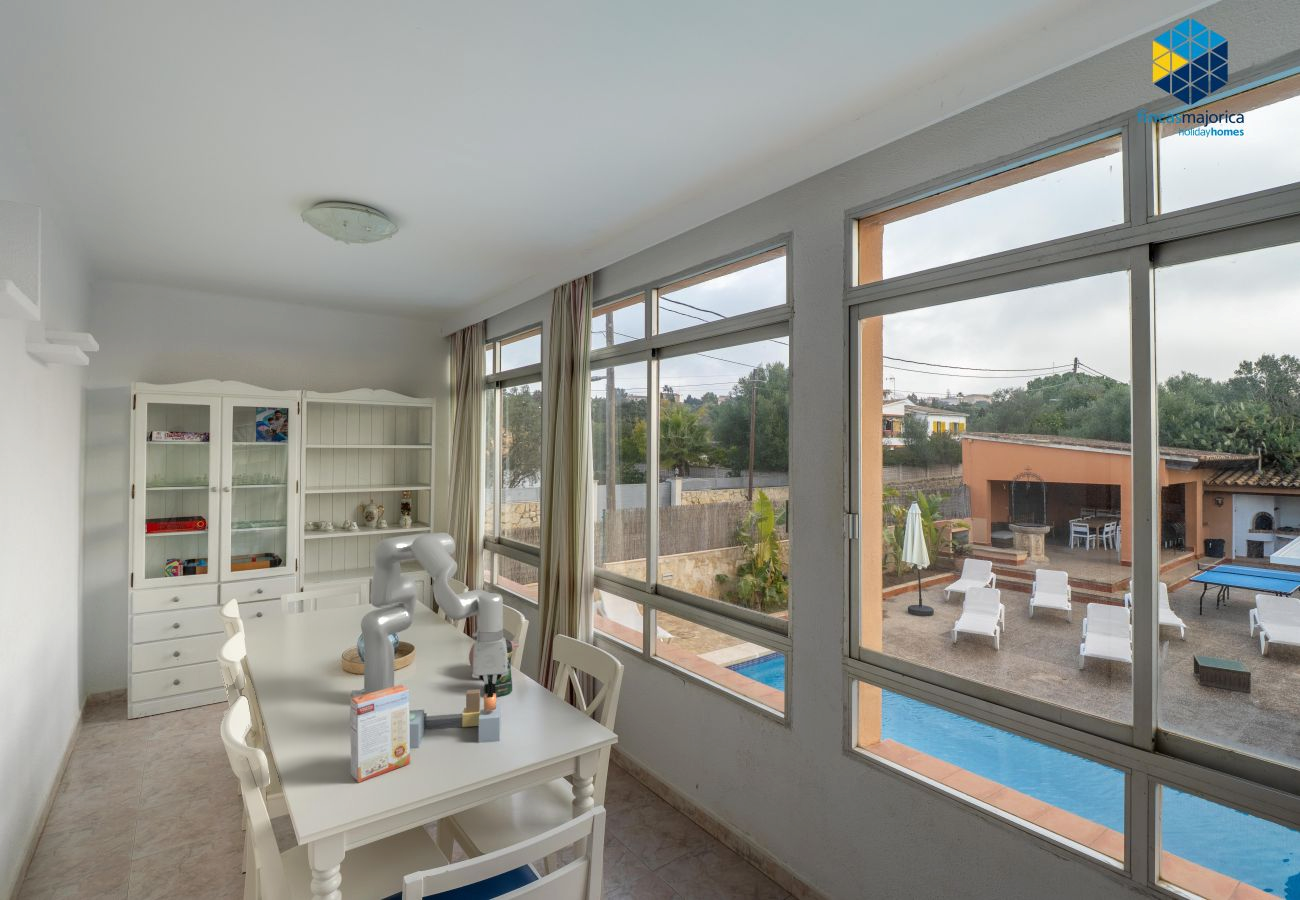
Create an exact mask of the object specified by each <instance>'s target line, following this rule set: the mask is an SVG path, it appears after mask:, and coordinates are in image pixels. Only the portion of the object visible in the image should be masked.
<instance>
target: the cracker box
mask: <svg viewBox="0 0 1300 900" xmlns="http://www.w3.org/2000/svg"><path fill="white" fill-rule="evenodd" d="M349 700H350V701H349V702H350V705H349V706H350V707H349V709H350V711H349V713H350V714H349V715H350V718H349V719H350V720H349V721H350V774H351V776H352V778H353V779H355V781H356V782H357V783H362V782H364V781H366V780H369V779H372V778H375V777H377V776H379V775H383V774H385V773H389V772H391V771H393V770H396V769H399V768H402V767H404V766H407V765H409V764H410V763H411V757H410V756H411V755H410V754H411V752H410V749H411V748H410V721H409V711H410V689H409V688H407V687H406V686H404V685H402V684H398V685H394V687H390V688H387V689H383V690H380V691H376V692H372V693H369V694H365V695H361V696H358V697H354V698H353V697H351V698H349Z"/></svg>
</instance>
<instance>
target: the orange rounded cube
mask: <svg viewBox="0 0 1300 900" xmlns="http://www.w3.org/2000/svg"><path fill="white" fill-rule="evenodd" d="M496 704H497V697H496V694H495V693H493V697H491V696H490V697H488V694H485V693H484V695H483V705H484V710H485V711H492V710H495V709H496Z"/></svg>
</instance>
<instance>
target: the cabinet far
mask: <svg viewBox="0 0 1300 900" xmlns="http://www.w3.org/2000/svg"><path fill="white" fill-rule="evenodd" d="M480 707H481V710H480V715H479V726H478V743H487V742H488V743H489V742H499V741H500V739H501V730H502V727H501V726H502V703H496V709H495V710H492V711H485V710H484V704H482V705H481V704H480Z"/></svg>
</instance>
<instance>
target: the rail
mask: <svg viewBox="0 0 1300 900" xmlns="http://www.w3.org/2000/svg"><path fill="white" fill-rule="evenodd" d="M427 713H428V712H424V731H428V730H429V731H430V730H441V729H442V730H443V729H455V728H463V727H462V715H463V713H451V714H439V715H427ZM468 727H469V728H470V726H468ZM468 727H467V728H468Z"/></svg>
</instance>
